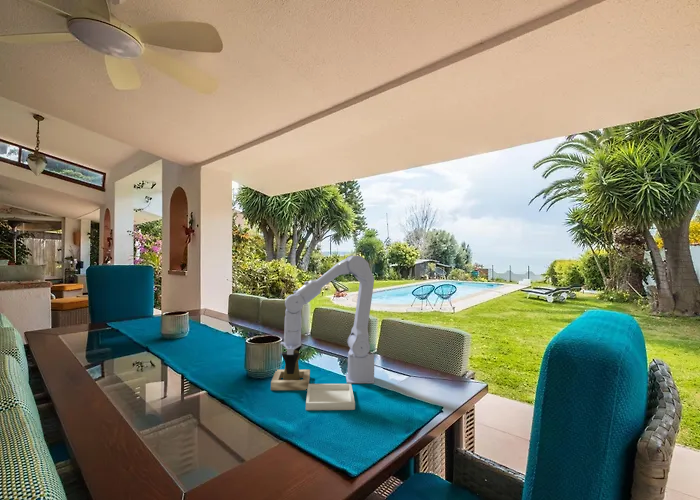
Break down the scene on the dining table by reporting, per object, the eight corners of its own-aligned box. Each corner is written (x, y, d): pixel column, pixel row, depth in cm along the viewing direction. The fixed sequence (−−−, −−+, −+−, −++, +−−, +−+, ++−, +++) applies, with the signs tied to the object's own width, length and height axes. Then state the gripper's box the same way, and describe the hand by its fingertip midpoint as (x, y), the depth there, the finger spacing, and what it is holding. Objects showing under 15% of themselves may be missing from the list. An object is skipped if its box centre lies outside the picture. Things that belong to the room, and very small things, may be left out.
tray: (351, 389, 110) (351, 383, 110) (354, 409, 96) (355, 402, 96) (308, 390, 109) (308, 383, 109) (305, 410, 95) (305, 403, 95)
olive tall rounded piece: (296, 387, 111) (297, 354, 111) (279, 385, 113) (280, 352, 113) (302, 380, 117) (303, 349, 117) (286, 378, 118) (287, 347, 119)
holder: (309, 376, 121) (310, 369, 121) (308, 390, 109) (308, 382, 109) (276, 376, 120) (276, 369, 120) (270, 390, 108) (270, 382, 108)
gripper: (283, 325, 122) (282, 362, 122) (278, 334, 108) (276, 377, 107) (303, 325, 123) (301, 362, 122) (300, 335, 108) (298, 377, 108)
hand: (291, 369), depth 115 cm, fingers open, 7 cm apart
